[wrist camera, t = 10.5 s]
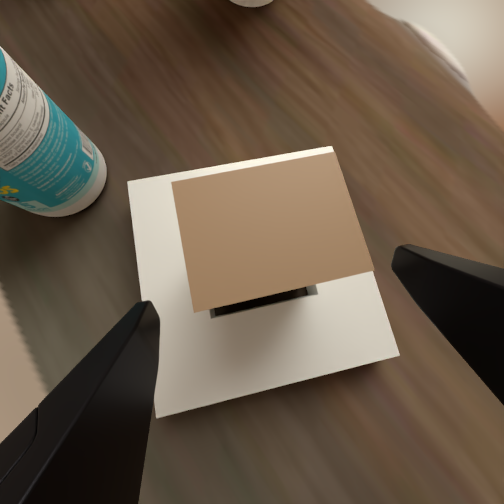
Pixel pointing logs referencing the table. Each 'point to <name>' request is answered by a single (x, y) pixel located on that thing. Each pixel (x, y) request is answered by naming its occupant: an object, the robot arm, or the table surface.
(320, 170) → the tan topped cream pillar
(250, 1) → the cup
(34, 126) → the pill bottle
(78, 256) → the table surface
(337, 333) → the socket plate
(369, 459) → the table surface
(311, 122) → the table surface
